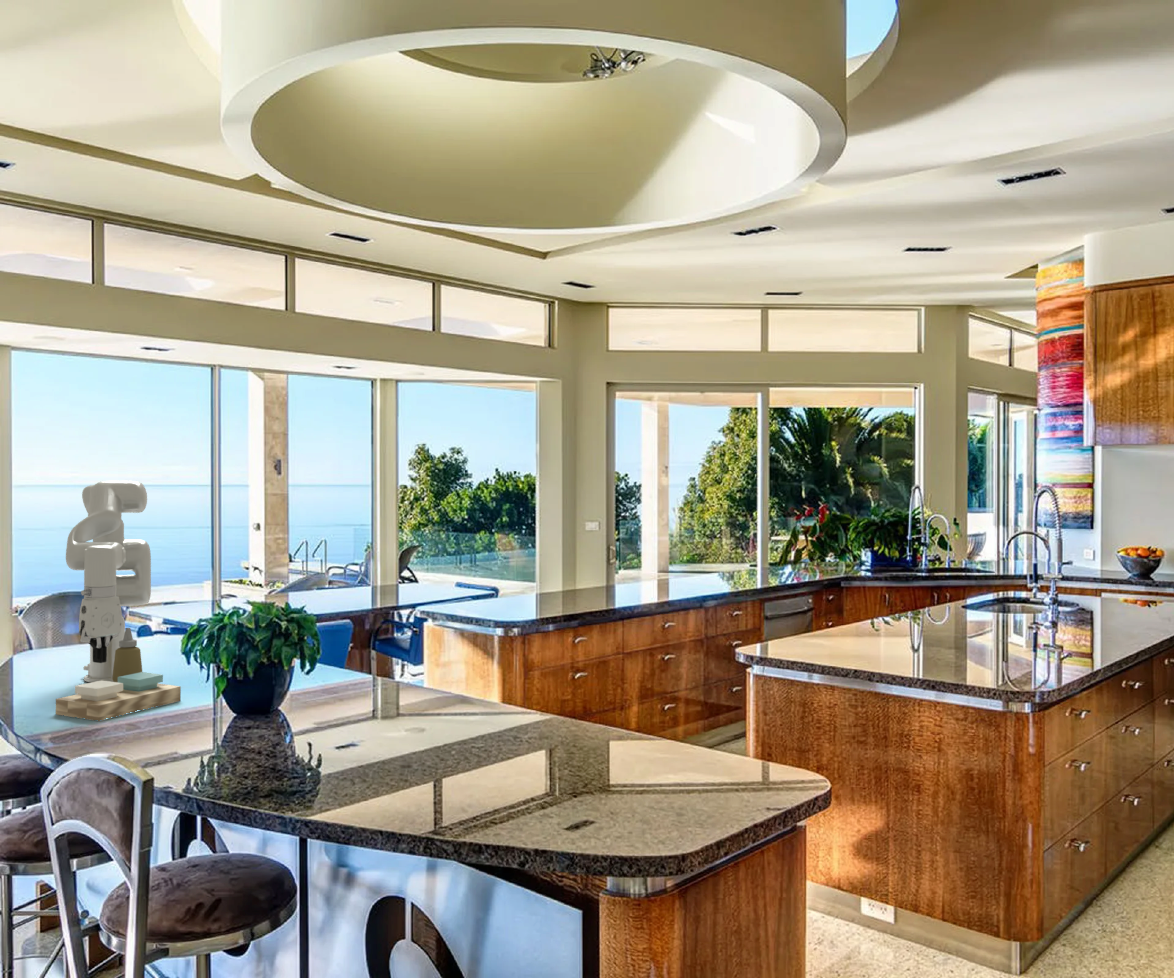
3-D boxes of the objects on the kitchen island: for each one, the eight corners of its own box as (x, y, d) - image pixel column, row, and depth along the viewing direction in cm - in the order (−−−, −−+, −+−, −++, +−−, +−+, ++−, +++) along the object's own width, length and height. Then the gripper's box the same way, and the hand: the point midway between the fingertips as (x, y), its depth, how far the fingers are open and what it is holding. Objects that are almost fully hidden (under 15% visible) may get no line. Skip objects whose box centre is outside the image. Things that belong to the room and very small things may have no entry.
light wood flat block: (99, 721, 248) (99, 705, 248) (55, 714, 255) (55, 698, 255) (180, 700, 272) (180, 686, 272) (138, 694, 279) (138, 680, 279)
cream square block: (96, 708, 252) (96, 688, 252) (75, 704, 256) (75, 685, 255) (122, 702, 259) (123, 683, 259) (101, 698, 263) (101, 680, 263)
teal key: (138, 698, 264) (138, 679, 264) (117, 695, 267) (117, 677, 267) (162, 692, 271) (162, 674, 271) (141, 689, 275) (141, 671, 275)
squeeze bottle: (134, 693, 280) (135, 630, 280) (106, 692, 281) (107, 629, 280) (147, 687, 289) (148, 626, 288) (120, 686, 289) (121, 625, 289)
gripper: (85, 597, 249) (84, 668, 250) (134, 590, 263) (133, 658, 263) (64, 594, 252) (64, 665, 253) (114, 588, 266) (113, 655, 266)
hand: (99, 661), depth 258 cm, fingers closed
